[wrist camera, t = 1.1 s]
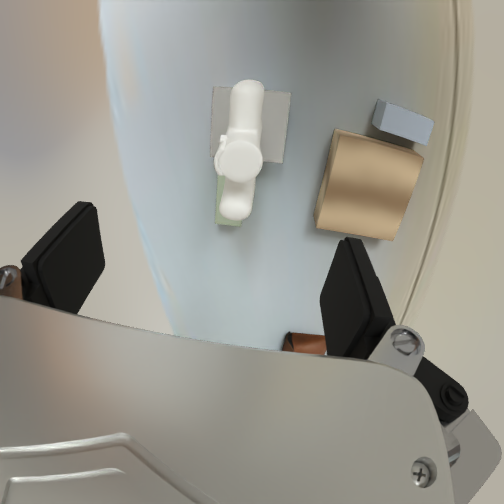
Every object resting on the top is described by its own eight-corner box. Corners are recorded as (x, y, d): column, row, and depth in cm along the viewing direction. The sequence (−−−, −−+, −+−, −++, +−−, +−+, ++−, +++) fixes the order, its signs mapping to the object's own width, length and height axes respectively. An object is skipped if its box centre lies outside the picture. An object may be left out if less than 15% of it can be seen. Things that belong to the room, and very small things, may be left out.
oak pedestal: (334, 128, 30) (340, 135, 28) (413, 150, 31) (424, 158, 28) (313, 215, 37) (316, 227, 34) (385, 228, 37) (392, 241, 35)
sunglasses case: (310, 385, 60) (295, 408, 55) (282, 370, 63) (266, 392, 58) (334, 334, 49) (318, 361, 45) (298, 316, 52) (279, 341, 48)
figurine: (290, 79, 27) (306, 94, 15) (280, 162, 33) (285, 234, 21) (219, 73, 27) (179, 85, 15) (215, 156, 33) (180, 223, 21)
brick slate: (370, 123, 30) (379, 129, 27) (377, 98, 28) (386, 102, 25) (415, 138, 30) (426, 145, 27) (422, 115, 28) (434, 121, 26)
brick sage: (221, 165, 34) (217, 175, 31) (248, 168, 34) (246, 178, 31) (218, 211, 37) (215, 223, 35) (243, 214, 37) (241, 226, 35)
